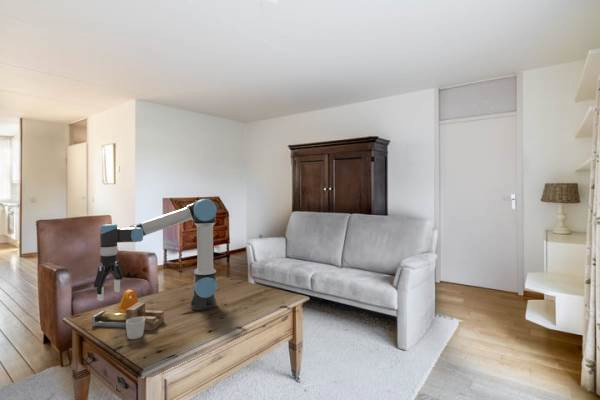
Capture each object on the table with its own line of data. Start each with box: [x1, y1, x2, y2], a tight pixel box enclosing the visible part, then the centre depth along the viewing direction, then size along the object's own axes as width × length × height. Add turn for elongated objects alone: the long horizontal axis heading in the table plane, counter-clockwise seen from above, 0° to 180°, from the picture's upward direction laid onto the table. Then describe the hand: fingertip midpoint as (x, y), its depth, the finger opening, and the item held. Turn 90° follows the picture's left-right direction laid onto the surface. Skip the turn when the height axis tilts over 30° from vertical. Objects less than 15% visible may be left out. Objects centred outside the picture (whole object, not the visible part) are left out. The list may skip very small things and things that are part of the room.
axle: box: [101, 312, 126, 322], centre depth 165 cm, size 14×4×4 cm, turn 88°
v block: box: [91, 310, 126, 329], centre depth 165 cm, size 17×8×5 cm, turn 88°
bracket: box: [117, 289, 139, 313], centre depth 182 cm, size 11×7×12 cm, turn 141°
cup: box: [125, 317, 145, 340], centre depth 152 cm, size 11×8×8 cm
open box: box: [126, 301, 165, 331], centre depth 165 cm, size 14×11×10 cm
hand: (109, 296), depth 165 cm, fingers open, 13 cm apart
